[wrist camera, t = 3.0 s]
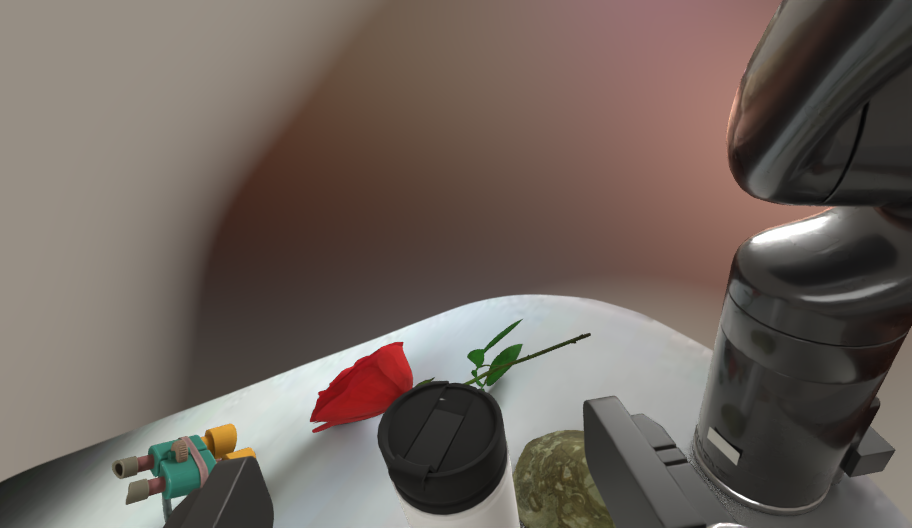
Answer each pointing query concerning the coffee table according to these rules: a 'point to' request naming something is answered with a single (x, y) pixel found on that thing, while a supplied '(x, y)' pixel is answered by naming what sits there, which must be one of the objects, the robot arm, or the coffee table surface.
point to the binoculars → (179, 465)
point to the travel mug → (449, 457)
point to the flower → (398, 381)
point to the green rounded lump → (558, 485)
